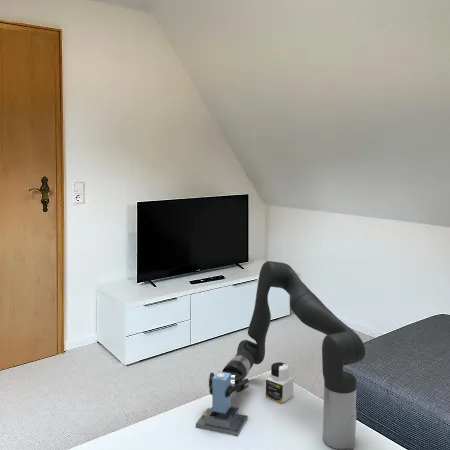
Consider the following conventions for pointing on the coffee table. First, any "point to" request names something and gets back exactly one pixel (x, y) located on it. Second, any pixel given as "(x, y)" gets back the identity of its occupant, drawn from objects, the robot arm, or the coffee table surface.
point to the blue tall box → (221, 392)
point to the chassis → (223, 421)
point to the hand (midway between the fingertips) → (218, 393)
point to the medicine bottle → (279, 383)
